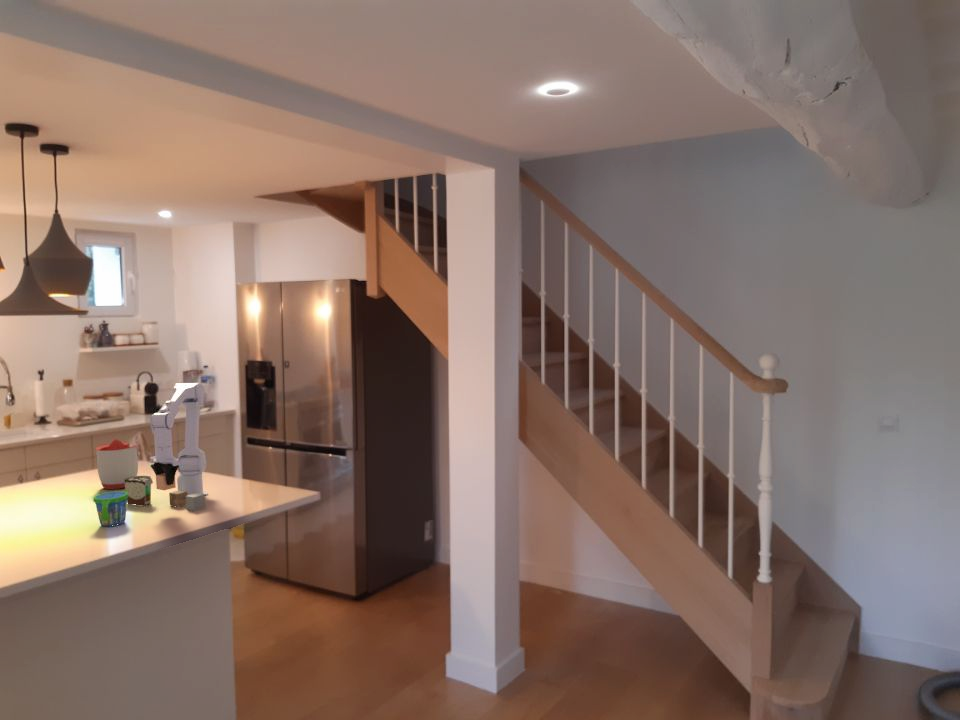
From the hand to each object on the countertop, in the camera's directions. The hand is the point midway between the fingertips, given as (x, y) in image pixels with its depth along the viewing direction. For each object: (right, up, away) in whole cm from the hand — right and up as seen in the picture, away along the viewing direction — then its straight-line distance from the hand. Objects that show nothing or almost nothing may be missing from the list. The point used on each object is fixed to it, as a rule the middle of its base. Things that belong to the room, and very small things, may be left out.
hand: (165, 483), depth 262 cm
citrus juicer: (-37, -9, +44) cm, 58 cm away
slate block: (+9, -10, +5) cm, 14 cm away
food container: (-15, -10, +14) cm, 23 cm away
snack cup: (-13, -12, -12) cm, 21 cm away
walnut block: (+1, -10, +10) cm, 14 cm away
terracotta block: (0, -2, 0) cm, 2 cm away
